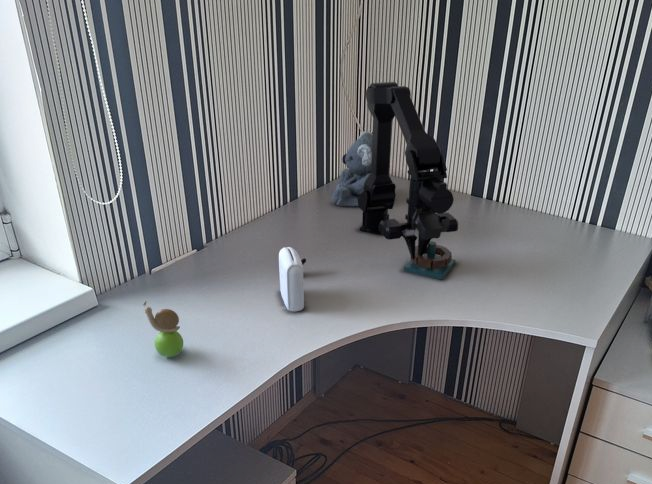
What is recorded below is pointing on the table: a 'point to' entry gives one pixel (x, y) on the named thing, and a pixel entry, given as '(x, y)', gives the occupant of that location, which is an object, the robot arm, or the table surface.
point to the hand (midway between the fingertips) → (416, 257)
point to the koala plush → (354, 171)
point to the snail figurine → (165, 331)
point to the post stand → (430, 272)
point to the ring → (433, 262)
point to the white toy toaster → (291, 279)
